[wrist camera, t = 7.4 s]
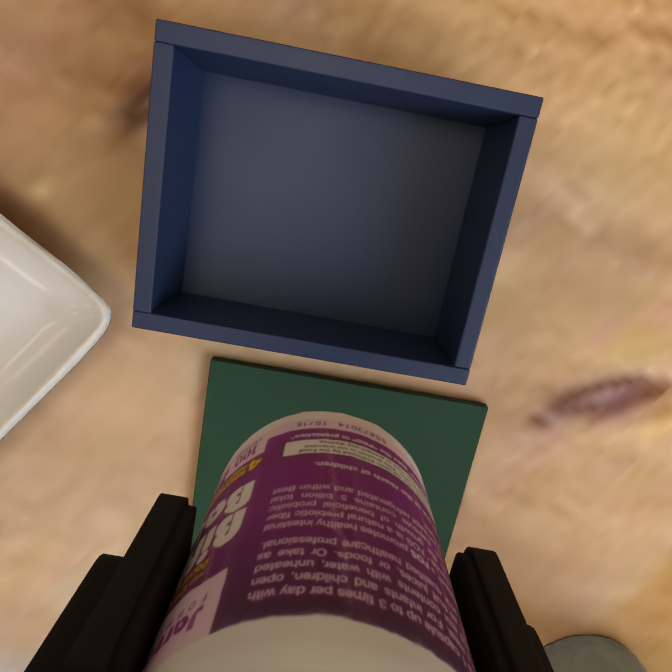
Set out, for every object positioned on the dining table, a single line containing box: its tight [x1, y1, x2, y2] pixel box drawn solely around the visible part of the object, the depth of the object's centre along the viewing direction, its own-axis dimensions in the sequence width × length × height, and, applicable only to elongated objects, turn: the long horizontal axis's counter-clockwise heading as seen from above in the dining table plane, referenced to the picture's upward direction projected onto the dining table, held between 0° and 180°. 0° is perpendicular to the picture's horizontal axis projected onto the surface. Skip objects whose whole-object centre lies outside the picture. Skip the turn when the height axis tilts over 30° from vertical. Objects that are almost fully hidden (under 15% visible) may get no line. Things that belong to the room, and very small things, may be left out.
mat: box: [191, 357, 488, 559], centre depth 32 cm, size 16×16×1 cm
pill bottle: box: [142, 411, 476, 672], centre depth 9 cm, size 5×5×10 cm
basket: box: [132, 19, 543, 385], centre depth 25 cm, size 13×16×5 cm
